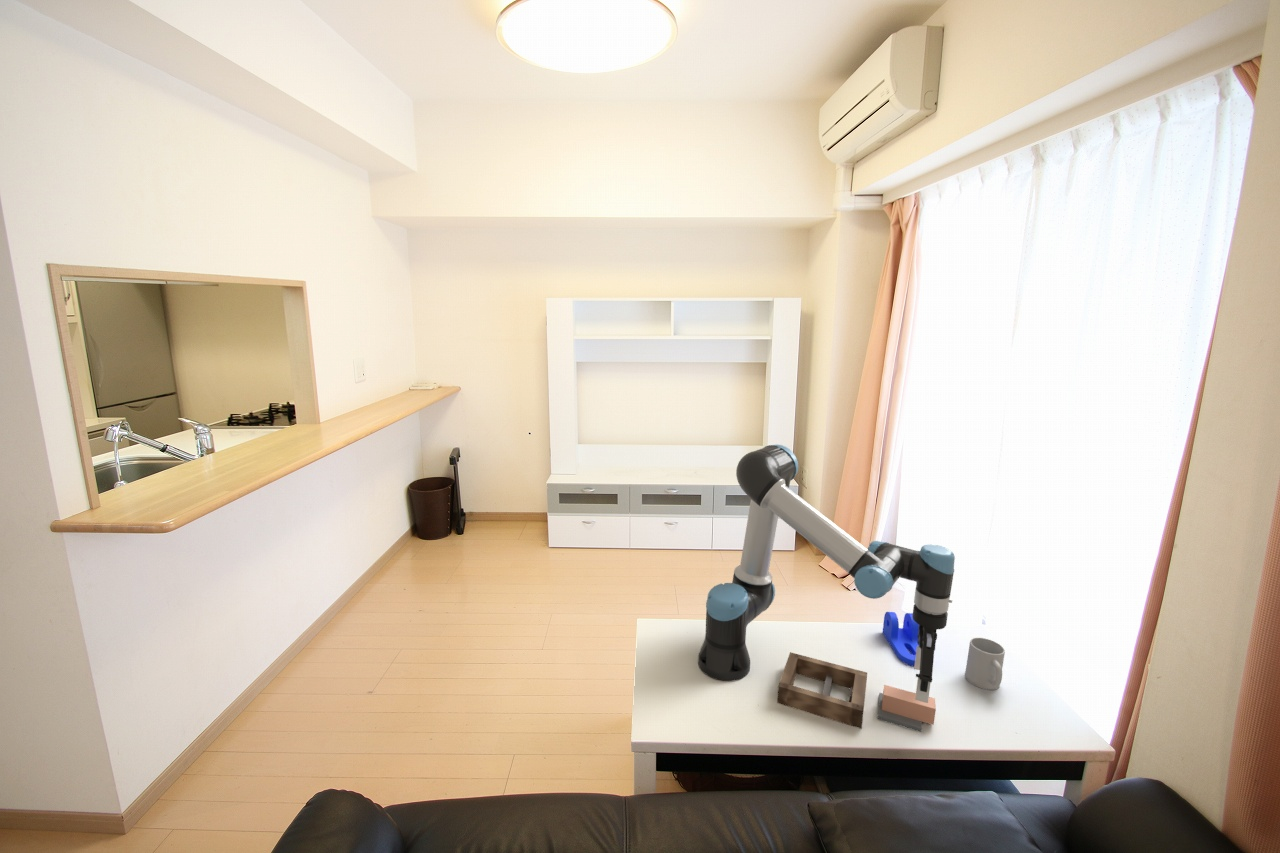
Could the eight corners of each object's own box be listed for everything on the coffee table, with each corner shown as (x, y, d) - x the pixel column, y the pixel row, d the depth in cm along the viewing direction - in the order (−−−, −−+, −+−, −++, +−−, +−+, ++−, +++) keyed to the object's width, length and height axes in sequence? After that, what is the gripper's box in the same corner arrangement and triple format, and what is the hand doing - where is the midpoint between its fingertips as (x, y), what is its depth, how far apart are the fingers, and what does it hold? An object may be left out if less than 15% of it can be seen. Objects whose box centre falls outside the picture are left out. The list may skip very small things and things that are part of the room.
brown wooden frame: (777, 702, 146) (778, 686, 145) (788, 667, 161) (790, 652, 160) (861, 728, 137) (863, 711, 136) (865, 688, 152) (867, 672, 151)
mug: (959, 670, 162) (964, 636, 159) (989, 672, 161) (994, 638, 159) (980, 697, 150) (986, 661, 148) (1013, 699, 149) (1019, 663, 147)
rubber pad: (877, 719, 141) (878, 715, 141) (879, 695, 150) (879, 692, 149) (921, 732, 137) (921, 728, 136) (920, 707, 145) (920, 703, 145)
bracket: (882, 632, 181) (885, 607, 179) (908, 634, 180) (911, 609, 178) (903, 666, 163) (906, 639, 161) (932, 668, 162) (935, 641, 161)
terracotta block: (881, 709, 143) (883, 694, 142) (882, 699, 147) (884, 684, 146) (933, 724, 138) (935, 709, 137) (932, 713, 142) (934, 698, 141)
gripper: (952, 637, 123) (940, 720, 127) (944, 589, 145) (934, 661, 149) (914, 628, 126) (904, 710, 130) (913, 583, 148) (904, 654, 152)
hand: (920, 684), depth 140 cm, fingers open, 13 cm apart
